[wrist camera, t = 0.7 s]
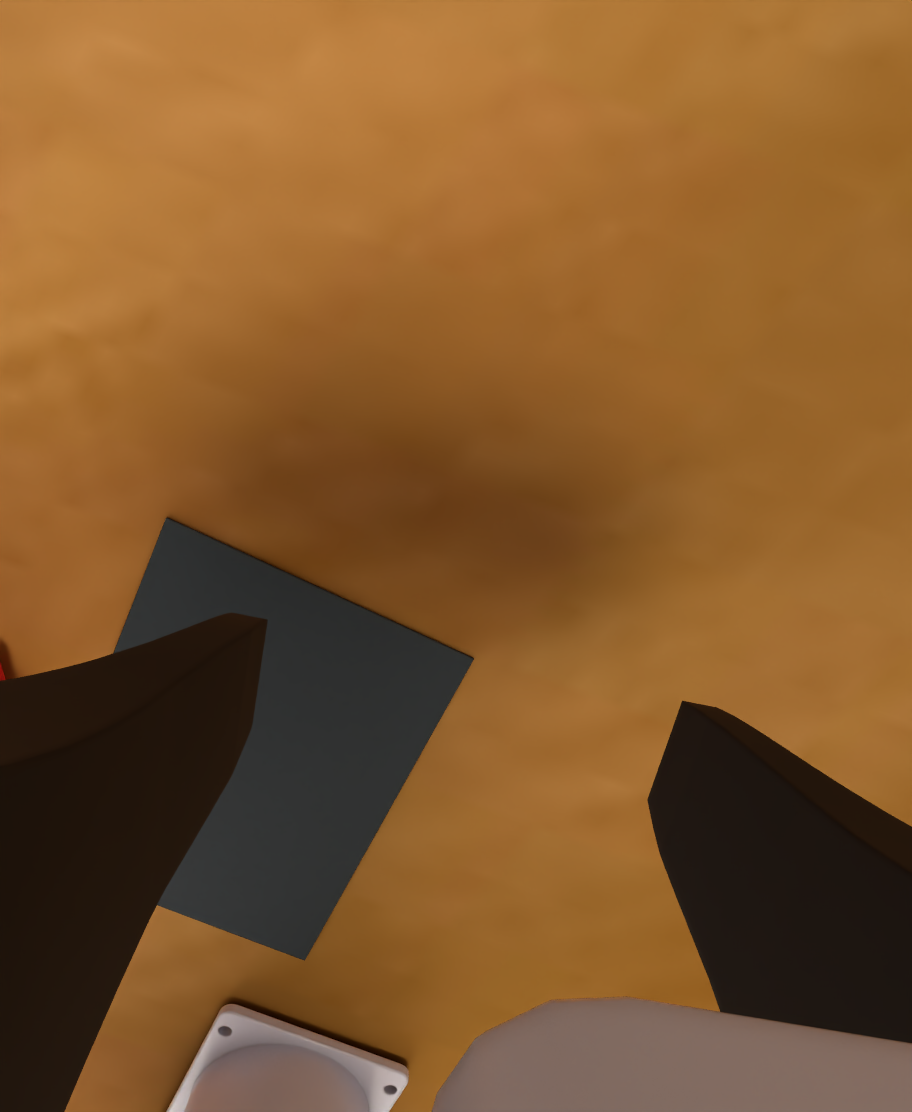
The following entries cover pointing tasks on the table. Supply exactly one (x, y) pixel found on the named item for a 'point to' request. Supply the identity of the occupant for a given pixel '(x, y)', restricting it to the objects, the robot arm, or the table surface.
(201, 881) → the mat
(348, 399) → the table surface
